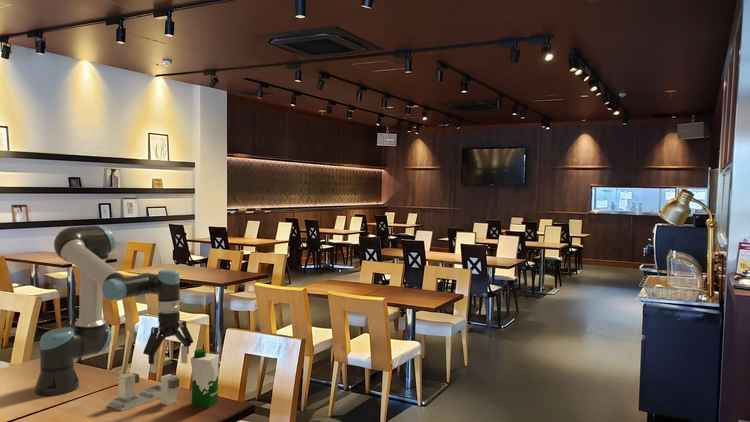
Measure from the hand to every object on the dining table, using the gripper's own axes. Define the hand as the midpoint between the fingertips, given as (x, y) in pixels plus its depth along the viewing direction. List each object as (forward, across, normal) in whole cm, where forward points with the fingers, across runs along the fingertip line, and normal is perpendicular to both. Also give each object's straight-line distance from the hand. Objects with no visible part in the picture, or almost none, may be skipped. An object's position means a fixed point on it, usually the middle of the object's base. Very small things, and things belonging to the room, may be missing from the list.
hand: (169, 367), depth 209 cm
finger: (+13, 0, 0) cm, 13 cm away
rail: (+13, -4, +12) cm, 18 cm away
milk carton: (+14, +7, -12) cm, 19 cm away
